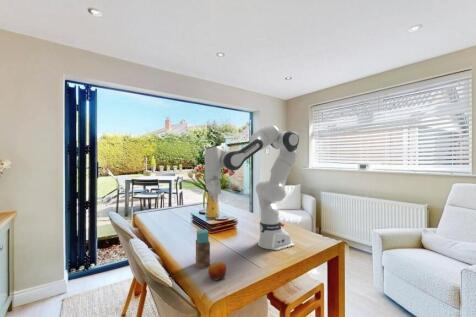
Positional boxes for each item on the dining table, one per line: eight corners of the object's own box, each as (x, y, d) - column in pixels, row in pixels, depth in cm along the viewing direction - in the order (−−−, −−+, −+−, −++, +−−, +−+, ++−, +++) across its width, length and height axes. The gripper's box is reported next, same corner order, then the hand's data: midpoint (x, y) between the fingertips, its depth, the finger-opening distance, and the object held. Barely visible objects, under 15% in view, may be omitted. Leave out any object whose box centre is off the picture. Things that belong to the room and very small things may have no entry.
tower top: (207, 250, 119) (207, 238, 119) (209, 254, 114) (209, 242, 113) (195, 251, 117) (195, 240, 117) (197, 256, 111) (197, 244, 111)
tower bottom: (207, 261, 119) (207, 250, 119) (209, 266, 114) (209, 254, 114) (195, 263, 117) (195, 251, 117) (197, 268, 112) (197, 256, 111)
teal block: (206, 239, 118) (206, 229, 118) (208, 242, 114) (208, 232, 114) (196, 240, 117) (196, 230, 117) (198, 243, 112) (198, 233, 112)
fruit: (216, 282, 96) (211, 263, 100) (208, 285, 102) (204, 266, 105) (232, 277, 101) (227, 258, 104) (224, 279, 107) (219, 261, 110)
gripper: (223, 176, 118) (224, 203, 118) (213, 173, 137) (214, 196, 137) (211, 177, 115) (212, 204, 116) (203, 174, 135) (203, 197, 135)
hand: (213, 200), depth 127 cm, fingers open, 8 cm apart
